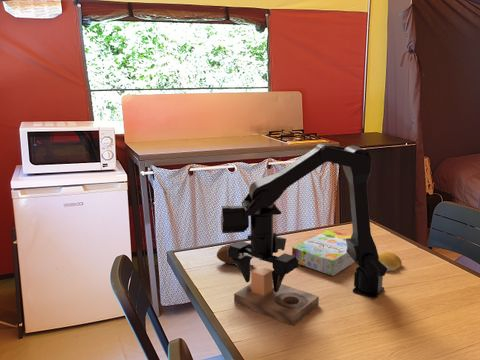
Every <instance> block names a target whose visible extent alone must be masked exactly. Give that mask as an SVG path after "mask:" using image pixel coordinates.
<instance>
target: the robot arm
mask: <svg viewBox="0 0 480 360" xmlns="http://www.w3.org/2000/svg"><path fill="white" fill-rule="evenodd" d="M327 162H328V163H333V164H337V165H341V166H342V168H343V169H342V170H343V171H344V175H345V177H346V179H347V182H348V190H349V191H348V192H349V201H350V203H349V204H350V211H351V213H350V215H351V225H352V234H351V235H350V236H351V238H347V239H346V243H347V250H346V252H347V253H348V254H349V255H350V257H351V258H352V259H353V260H354V261H355V262H354V263H355V265H357V267H356V269H355V270H356V271H355V272H354V274H353V275H354V276H353V280H354V281H353V287H354V288H353V289H352V292H353V293H357V294H360V295H363V296H366V297H369V298H373V299H377V298H378V296H379V295H381V294H382V292H383V291H385V287H383V278H384V276H385V275H386V274H387V272H388V271H387V268H386V267H385V266H384V265H383V264H382V263H381V262H380V261H379V256H378V254H379V253H378V248H377V246H376V243H375V241H374V239H373V236H372V233H371V232H372V231H371V230H372V229H371V220H370V217H371V216H370V205H369V204H370V203H369V192H368V191H369V190H368V189H369V188H368V181H369V178H370V176H371V173H372V165H373V164H372V163H373V157H372V155H371V152H369V151H368V150H366V149H363V148H361V147H359V146H357V145H349V146H347V147H344V146H338V145H330V144H326V143H318V144H317V145H316V146H315V147H314V148H313V149H311V150H309V151H308V152H306V153H305V154H303V155H302V156H300V157H299V158H297V159H296V160H295V161H293V162H292V163H290V164H288V165H287V166H285V167H284V168H282V169H281V170H279V171H278V172H276V173H273V174H270V175H266V176H264V177H262V178H260V179H257V180H255V181H253V182H252V183H251V184H250V185H249V190H248V193H247V195H246V197H244V199H243V200H242V202H241V205H232V206H231V205H221V215H220V228H221V229H220V230H221V234H233V233H234V234H235V233H245V231H248V229H249V226H250V234H248V235H247V240H248V241H250V243H249V242H247V241H242V240H239V241H237V243H235V242H234V243H235V244H233V245H231V246H229V248H228V257H232V260H233V261H234V262H235V264H234V265H236V267H237V268H238V270H239V272H240V273H241V275H242V277H243V279H244V281H245V282H246V283H249V282H250V281H251V260H252V259H253V258H254V259H257V260H260V261H264V262H266V263H269V264H272V270H273V271H272V278H273V286H274V291H275V292H278V290H279V288H280V285H281V284H283V283H282V282H283V280H284V277H285V276H286V275H288V274H289V273H290V272H293V271H294V270H296V269H297V268H299V264H298V259H297V257H296V256H292V254H288V253H283V254H281V255H279V256H277V255H274V254H276V253H278V252H279V250H281V251H285V247H286V244H287V238H285V237H282V236H278V235H277V233H276V232H274V216H275V215H277V216H278V215H281V214H282V211H281V210H280V208H279V207H277V205H276V204H275V202H277V200H279V199H280V197H281V196H282V195H283V194H284V192H285V191H286V190H287V189H288V188H289V187H290V186H292V185H294V184H296V183H297V182H298V181H300V180H302V178H304V177H306V176H307V175H309V174H311V172H314V171H315V170H317V169H318V168H319V167H320V166H322V165H323V164H325V163H327ZM249 217H250V218H249ZM252 257H253V258H252ZM251 258H252V259H251Z"/></svg>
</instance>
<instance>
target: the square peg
mask: <svg viewBox="0 0 480 360" xmlns="http://www.w3.org/2000/svg"><path fill="white" fill-rule="evenodd" d="M273 270H274V269H270V268H267V267H264V266H257V268H255V269H253V270H250V281H251V282H250V284H251V293H254V294H257V295H259V296H262V297H266V296H267V295H268V294H270V293H271V292H273V278H272V271H273Z"/></svg>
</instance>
